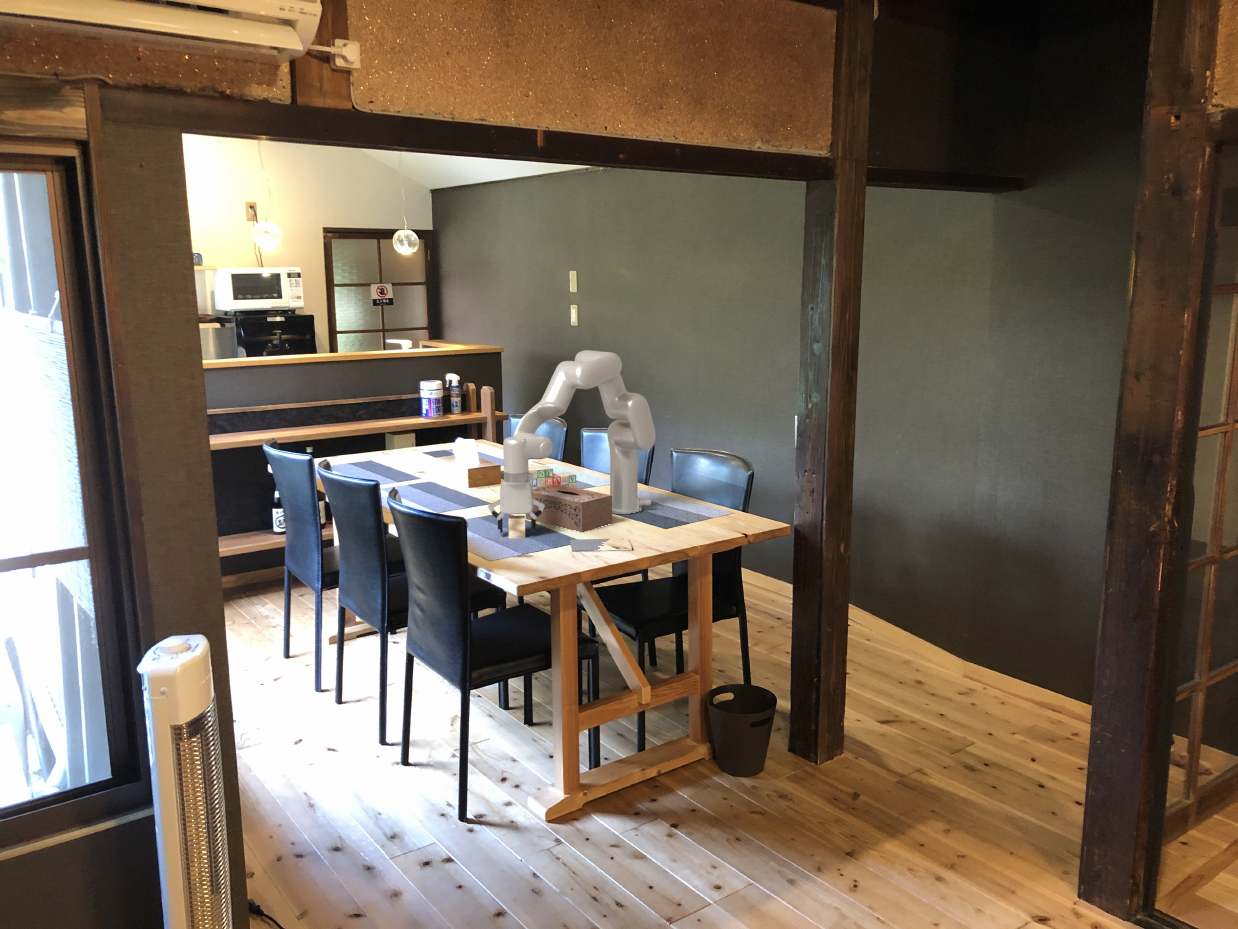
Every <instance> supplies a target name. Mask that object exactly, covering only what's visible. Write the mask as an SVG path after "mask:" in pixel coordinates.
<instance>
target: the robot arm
mask: <svg viewBox="0 0 1238 929" xmlns="http://www.w3.org/2000/svg"><path fill="white" fill-rule="evenodd" d="M622 368H623V362H622V359H621V357H620V356H619V355H618V354H617V353H615V352H612V351H611V352H610V351H600V350H589V349H585V350H582V351H579V352H577V354H576V355H575V357H574V361H573V360H565V361H564V360H563V361H561V362H560V363H559V364H558V365H557V366H556V368H555V370H554V372H553V375H552V376H551V378H550V381H549V383H548V385H547V387H546V389H545V392H544V394H543V395H542V398H541V399H540V401H538V403H536V404H535V405H534V406H532V407H531V408H530V409H529V410H528V411H527V412H526V413H524V415H523V416H522V418H520V420H519V422H518V423H517V426H516V428H515V430H514V432H513V434H512V436H509V437H506V438H505V439H504V440H503V443H502V444H503V447H502V448H503V480H502V481H501V483H500V490H499V492H500V493H499V495H500V496H499V499H498V500H496V501H493V502H492V503H490V504H488V506H487V508H488V510H489V512H490V514H491V515H492V516H493V517H494V518H495V519H496V520H497V530H499V533H501V534H502V533H503V528H504V526H503V517H504V516H505V515H526V514H529V515H530V516H531V517H532V518H531V520H530V527H531V528H530V531H531V532H532V533H534V532H535V529H536V528H537V522H536V519H537V517H538V516H539V515H540V514H541V513H542V511H543V509H544V507H545V505H544V504H543V503H541V502H539V501H537V500H535V499H533V492H532V484H531V481H530V480H528V479H529V478H533V473H529V472H528V467H529V460H544V459H547V458H548V457H550V456H551V454H552V453H553V451H554V444H553V442H552V440H551V439H550V437H547V436H546V435H542V434H537V433H536V432H537V430H538V429H539V428H540V427H541V426H542V425H543V424H544V423H546V422H548V421H550V420H552V419H555V418H557V417H560V416H562V415H563V414H565V413H566V411H567V409H568V407H569V405H570V403H571V401H572V398H573V396H574V395H575V392H576V390H577V389H581V390H590V389H593V388H596V387H598V390H599V393H600V397H601V398H600V399H601V401H602V404H603V408H604V411H605V414H606V416H607V417H609V418H610V419H614V421H612V422H611V423H610V424H609V426H608V428H607V433H606V434H607V442H608V448H609V457H610V458H609V459H610V460H609V464H610V466H609V468H610V469H609V470H610V473H609V478H610V479H609V485H610V486H609V495H612V514H617V515H630V514H631V513H633V514H637V513H636V512H638V513H640V512H642V510H643V508H642V507H643V506H651V504H652V500H651V499H646V498H642V499H641V498H640V497H639V496H638V480H639V479H638V478H639V477H638V476H639V475H638V472H639V471H638V470H639V468H638V467H639V461H638V455H637V453H636V451H642V452H643V451H648V450H650V449H652V447H654V445H655V441H656V430H655V425H654V420H653V417H652V412H651V408H650V405H649V403H648V401H647V399H646V397H644V396H643V395H642V394H640V393H637V392H636V393H635V392H629V391H628V390H627V389H626V385H625V382H624V380H623V377H622V375H621V371H622ZM533 504H535V505H537V506H539V509H538V510H537V511H536V512H535V513H534V511H533ZM498 506H499V509H500V510H499V512H497V511H496V510H495V508H496V507H498ZM639 511H640V512H639ZM631 515H632V514H631Z"/></svg>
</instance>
